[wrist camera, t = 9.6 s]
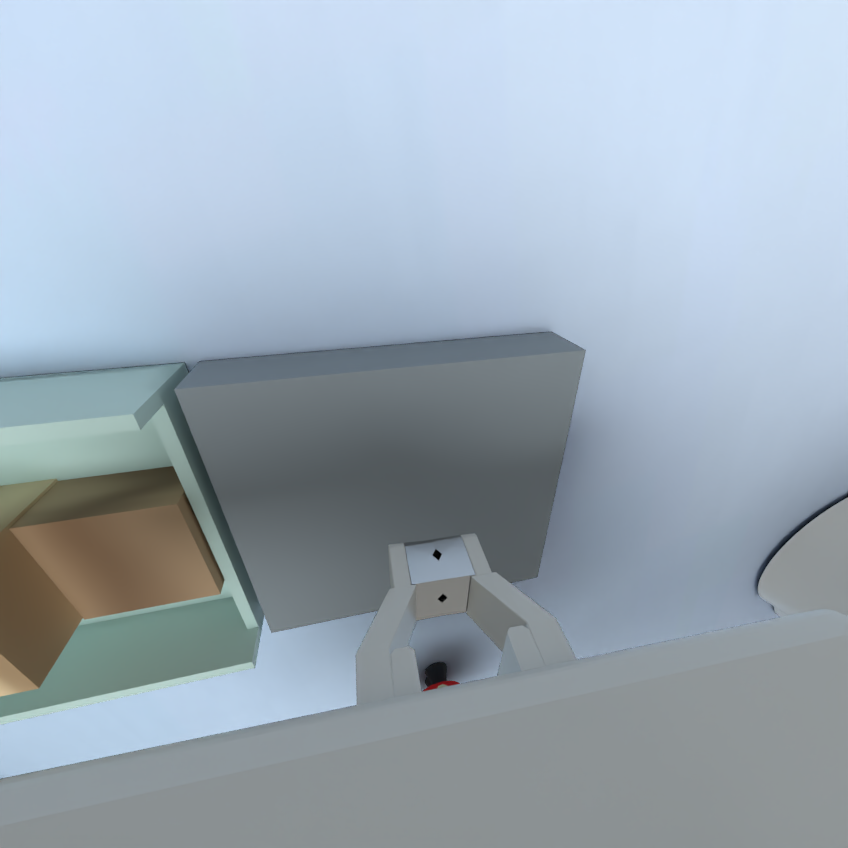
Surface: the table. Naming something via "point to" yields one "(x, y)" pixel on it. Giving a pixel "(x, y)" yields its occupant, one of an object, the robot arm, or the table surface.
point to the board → (381, 460)
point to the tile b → (120, 542)
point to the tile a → (28, 601)
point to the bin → (116, 453)
